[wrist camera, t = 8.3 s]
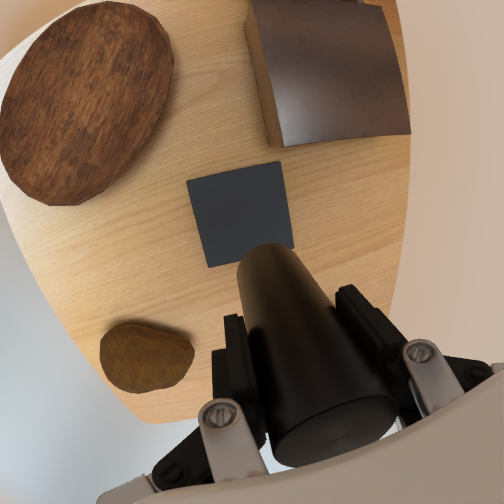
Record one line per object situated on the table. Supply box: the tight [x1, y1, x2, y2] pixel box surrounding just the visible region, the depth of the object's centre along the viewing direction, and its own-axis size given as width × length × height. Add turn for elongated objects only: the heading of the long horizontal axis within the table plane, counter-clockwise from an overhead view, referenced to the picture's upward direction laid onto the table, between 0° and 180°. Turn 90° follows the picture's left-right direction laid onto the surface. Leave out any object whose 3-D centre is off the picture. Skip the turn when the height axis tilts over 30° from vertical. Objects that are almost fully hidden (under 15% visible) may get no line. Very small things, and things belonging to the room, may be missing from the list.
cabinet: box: [243, 0, 411, 147], centre depth 23 cm, size 15×14×7 cm
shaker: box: [237, 243, 399, 468], centre depth 11 cm, size 4×4×11 cm
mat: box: [187, 161, 294, 268], centre depth 31 cm, size 10×10×1 cm
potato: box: [100, 324, 195, 394], centre depth 31 cm, size 8×12×9 cm
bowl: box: [0, 1, 174, 206], centre depth 22 cm, size 20×22×5 cm
